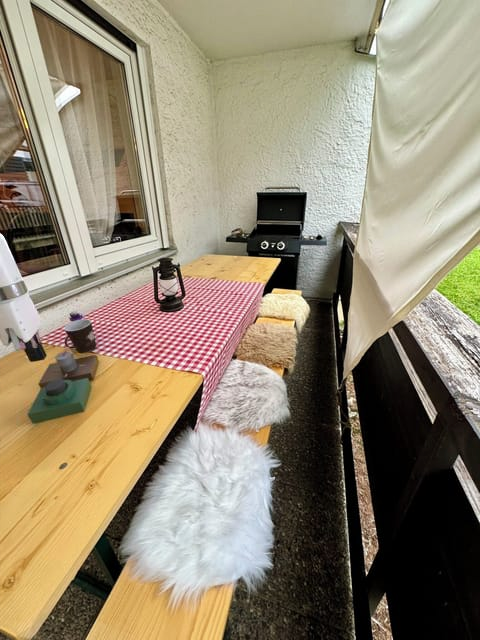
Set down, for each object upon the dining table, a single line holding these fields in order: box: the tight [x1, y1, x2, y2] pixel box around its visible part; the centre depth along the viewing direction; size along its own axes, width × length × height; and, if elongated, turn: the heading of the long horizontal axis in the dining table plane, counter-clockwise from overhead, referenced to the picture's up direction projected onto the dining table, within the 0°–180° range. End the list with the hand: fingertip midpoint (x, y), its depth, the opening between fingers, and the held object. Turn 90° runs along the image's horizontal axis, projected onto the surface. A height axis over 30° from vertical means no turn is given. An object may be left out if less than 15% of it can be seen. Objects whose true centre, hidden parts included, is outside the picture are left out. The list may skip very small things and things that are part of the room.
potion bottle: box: [68, 310, 84, 330], centre depth 99 cm, size 9×9×12 cm
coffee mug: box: [63, 318, 97, 354], centre depth 93 cm, size 12×9×10 cm
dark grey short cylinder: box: [45, 379, 67, 396], centre depth 69 cm, size 4×4×2 cm
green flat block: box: [27, 378, 93, 425], centre depth 70 cm, size 12×10×6 cm
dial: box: [54, 349, 77, 373], centre depth 80 cm, size 4×4×5 cm
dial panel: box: [38, 354, 100, 389], centre depth 82 cm, size 14×10×3 cm
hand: (38, 358), depth 65 cm, fingers closed
